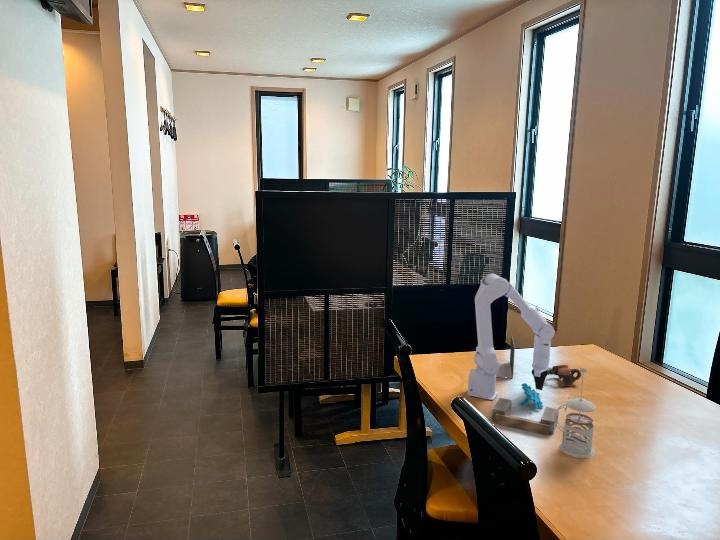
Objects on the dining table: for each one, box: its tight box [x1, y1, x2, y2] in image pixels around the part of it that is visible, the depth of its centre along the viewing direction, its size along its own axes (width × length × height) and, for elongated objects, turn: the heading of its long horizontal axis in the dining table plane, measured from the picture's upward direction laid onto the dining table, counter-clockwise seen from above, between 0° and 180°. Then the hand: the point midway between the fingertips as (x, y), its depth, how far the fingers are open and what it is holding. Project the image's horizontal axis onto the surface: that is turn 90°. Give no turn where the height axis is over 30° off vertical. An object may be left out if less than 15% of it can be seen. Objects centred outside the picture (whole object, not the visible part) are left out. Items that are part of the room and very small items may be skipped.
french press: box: [554, 366, 597, 459], centre depth 150 cm, size 10×12×25 cm
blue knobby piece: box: [519, 382, 544, 410], centre depth 182 cm, size 11×6×10 cm
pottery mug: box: [547, 364, 582, 388], centre depth 202 cm, size 12×10×8 cm
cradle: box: [491, 397, 560, 436], centre depth 169 cm, size 19×12×4 cm, turn 62°
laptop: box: [496, 334, 516, 380], centre depth 215 cm, size 18×12×13 cm
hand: (539, 389), depth 192 cm, fingers closed
